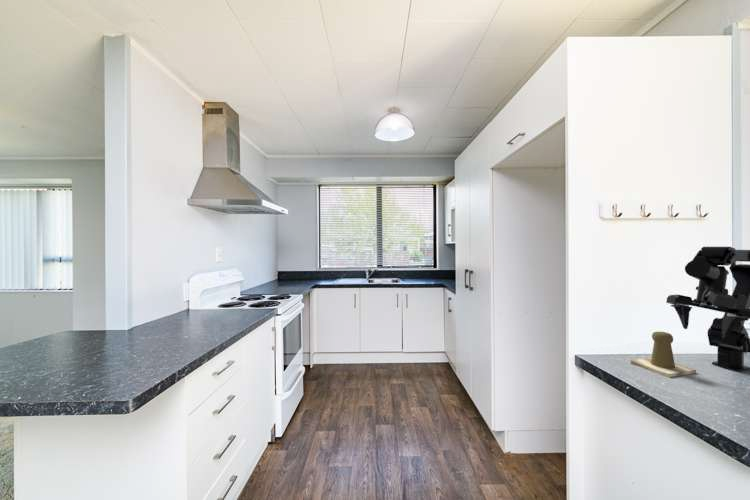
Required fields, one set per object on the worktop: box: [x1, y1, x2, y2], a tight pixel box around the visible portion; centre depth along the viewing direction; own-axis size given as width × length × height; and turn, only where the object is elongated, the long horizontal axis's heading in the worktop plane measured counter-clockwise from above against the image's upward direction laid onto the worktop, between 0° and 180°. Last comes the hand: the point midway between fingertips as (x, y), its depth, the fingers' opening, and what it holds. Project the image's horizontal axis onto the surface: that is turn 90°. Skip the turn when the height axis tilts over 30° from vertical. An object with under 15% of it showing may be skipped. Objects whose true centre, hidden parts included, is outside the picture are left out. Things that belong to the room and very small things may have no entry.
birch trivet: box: [630, 357, 697, 378], centre depth 102 cm, size 12×12×1 cm
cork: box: [650, 331, 675, 369], centre depth 102 cm, size 6×6×11 cm
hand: (704, 333), depth 96 cm, fingers open, 9 cm apart
